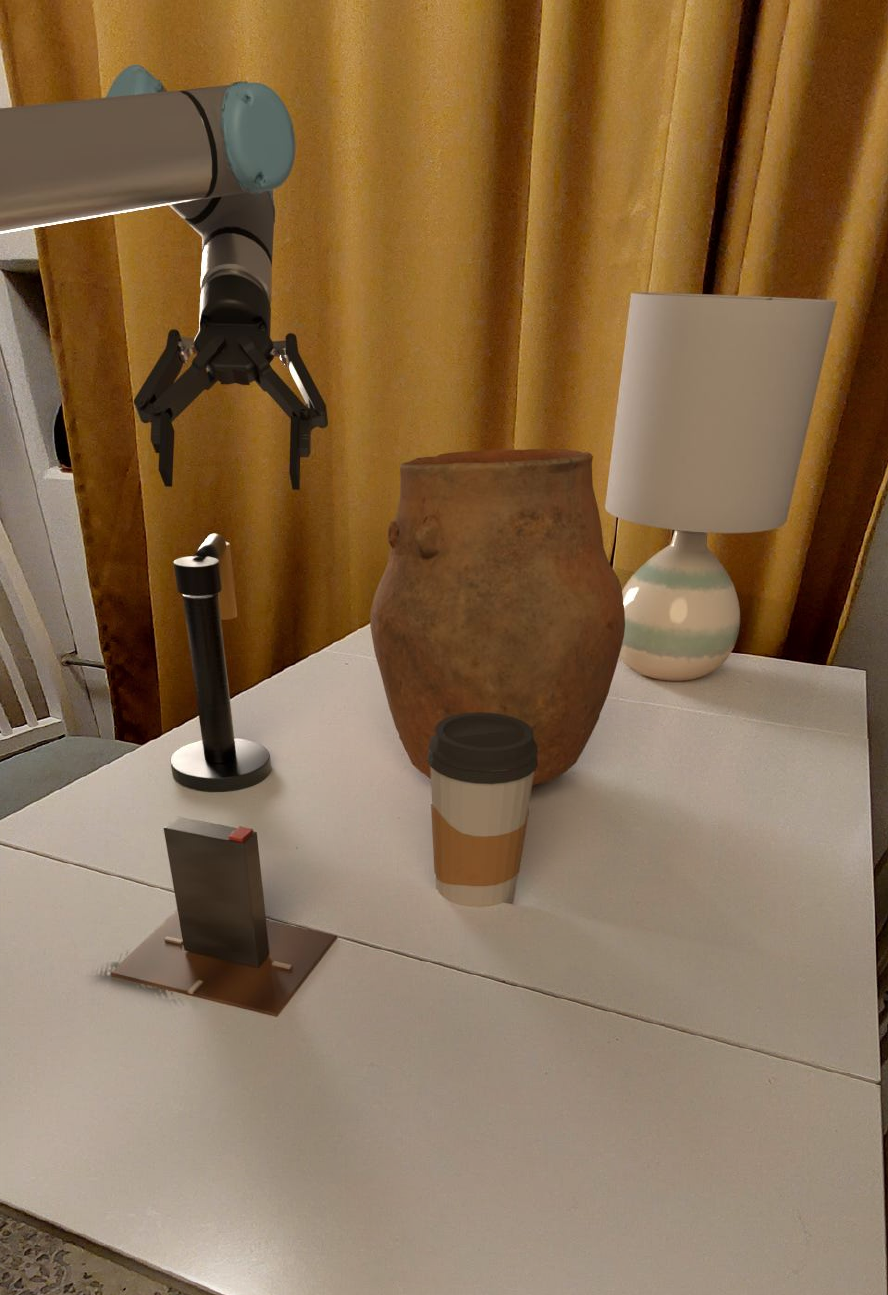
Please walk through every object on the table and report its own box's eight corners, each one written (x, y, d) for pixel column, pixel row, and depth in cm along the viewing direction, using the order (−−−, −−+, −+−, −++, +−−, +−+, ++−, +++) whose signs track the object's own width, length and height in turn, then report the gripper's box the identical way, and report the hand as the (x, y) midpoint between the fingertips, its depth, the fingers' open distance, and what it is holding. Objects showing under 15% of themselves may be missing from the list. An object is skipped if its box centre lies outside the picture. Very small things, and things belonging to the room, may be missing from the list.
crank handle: (224, 655, 88) (214, 565, 83) (181, 655, 88) (168, 563, 83) (245, 612, 99) (237, 530, 94) (207, 612, 99) (197, 529, 94)
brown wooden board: (114, 996, 67) (108, 971, 66) (188, 922, 75) (185, 899, 73) (278, 1037, 64) (275, 1012, 63) (338, 956, 72) (337, 932, 70)
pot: (486, 712, 112) (502, 420, 94) (651, 777, 99) (707, 453, 80) (328, 768, 98) (311, 440, 80) (494, 853, 85) (520, 483, 67)
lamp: (636, 634, 138) (687, 293, 113) (776, 669, 127) (866, 301, 103) (554, 671, 124) (593, 291, 100) (704, 713, 114) (788, 301, 89)
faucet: (153, 782, 94) (121, 601, 84) (204, 745, 102) (181, 574, 91) (242, 799, 92) (221, 614, 81) (287, 759, 100) (273, 586, 89)
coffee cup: (541, 920, 76) (560, 745, 67) (446, 939, 74) (453, 760, 65) (499, 870, 82) (511, 704, 73) (410, 887, 80) (411, 716, 71)
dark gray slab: (184, 951, 68) (162, 824, 62) (196, 937, 69) (176, 812, 63) (258, 968, 67) (243, 840, 60) (270, 954, 68) (256, 828, 62)
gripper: (353, 332, 106) (350, 505, 104) (130, 325, 105) (122, 499, 103) (348, 273, 99) (345, 458, 96) (109, 265, 98) (99, 452, 95)
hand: (230, 480), depth 99 cm, fingers open, 13 cm apart
